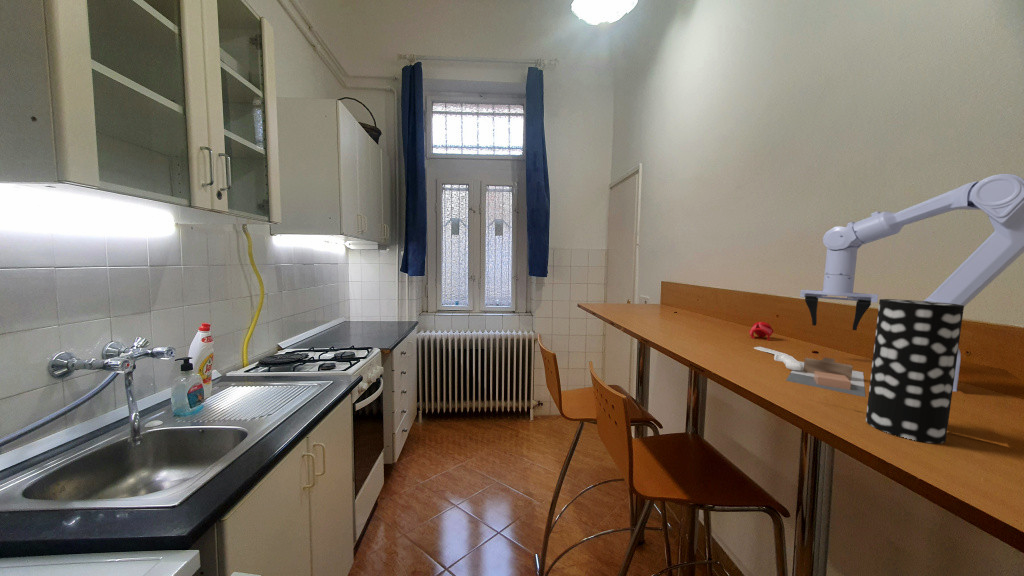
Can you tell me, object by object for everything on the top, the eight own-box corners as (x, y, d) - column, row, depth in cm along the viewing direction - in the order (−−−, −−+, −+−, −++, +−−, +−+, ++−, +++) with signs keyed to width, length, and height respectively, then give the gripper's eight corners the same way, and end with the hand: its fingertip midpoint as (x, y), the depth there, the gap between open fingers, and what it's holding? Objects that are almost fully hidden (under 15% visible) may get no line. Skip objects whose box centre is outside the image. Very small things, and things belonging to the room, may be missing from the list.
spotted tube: (938, 429, 55) (955, 303, 53) (952, 450, 49) (972, 307, 47) (863, 413, 60) (876, 298, 59) (867, 429, 54) (882, 301, 52)
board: (862, 374, 82) (863, 372, 82) (865, 399, 67) (865, 396, 67) (797, 362, 91) (797, 360, 91) (785, 382, 75) (786, 380, 75)
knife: (746, 341, 110) (777, 343, 107) (746, 346, 110) (777, 349, 107) (762, 360, 84) (803, 364, 80) (762, 367, 84) (803, 371, 80)
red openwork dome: (775, 332, 114) (778, 321, 117) (754, 324, 116) (758, 314, 120) (764, 348, 119) (767, 337, 122) (744, 340, 122) (748, 329, 125)
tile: (844, 382, 74) (845, 375, 74) (850, 389, 70) (850, 382, 70) (813, 377, 77) (814, 370, 77) (817, 384, 73) (818, 376, 73)
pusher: (851, 374, 80) (852, 361, 80) (851, 380, 76) (852, 367, 76) (805, 366, 86) (807, 354, 85) (803, 371, 81) (804, 359, 81)
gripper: (879, 276, 87) (873, 329, 88) (804, 273, 97) (799, 321, 99) (880, 276, 82) (874, 333, 83) (801, 273, 92) (796, 324, 94)
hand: (833, 327), depth 91 cm, fingers open, 7 cm apart
